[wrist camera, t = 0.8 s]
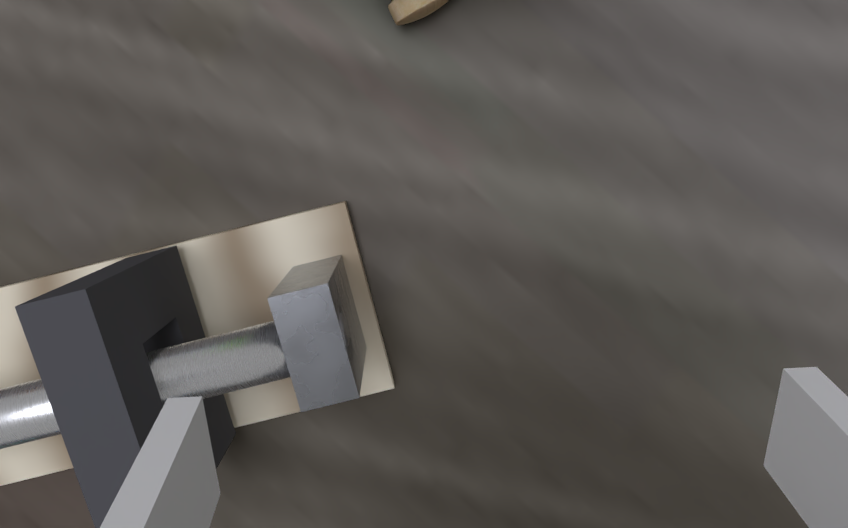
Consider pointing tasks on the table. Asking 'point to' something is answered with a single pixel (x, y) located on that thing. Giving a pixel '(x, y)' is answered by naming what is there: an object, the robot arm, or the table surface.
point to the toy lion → (413, 9)
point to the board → (212, 314)
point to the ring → (114, 364)
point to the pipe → (242, 355)
